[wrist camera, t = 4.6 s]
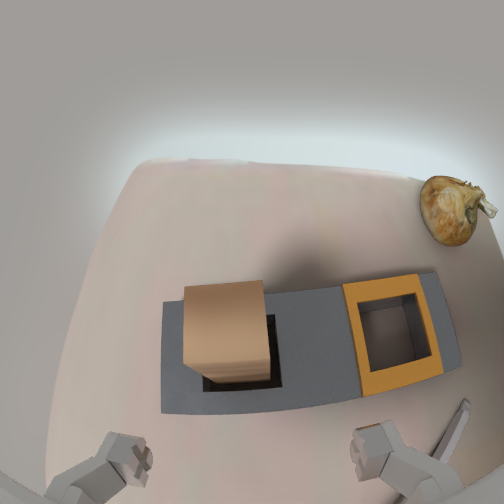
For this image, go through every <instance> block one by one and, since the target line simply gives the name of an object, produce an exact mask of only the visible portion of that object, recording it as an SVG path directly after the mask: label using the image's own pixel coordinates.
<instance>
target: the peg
mask: <svg viewBox="0 0 504 504" xmlns="http://www.w3.org/2000/svg"><path fill="white" fill-rule="evenodd" d="M183 363H184V364H185V365H187V366H188V367H190V368H192V369H193V370H195V371H197V372H198V373H200V374H202V375H204V376H205V377H207V378H209V379H210V380H212V381H214V382H216V383H218V384H219V385H222V384H242V383H256V382H268V381H270V353H269V342H268V332H267V321H266V311H265V301H264V291H263V281H262V280H259V281H248V282H237V283H225V284H213V285H200V286H187V287H185V289H184V325H183Z"/></svg>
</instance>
